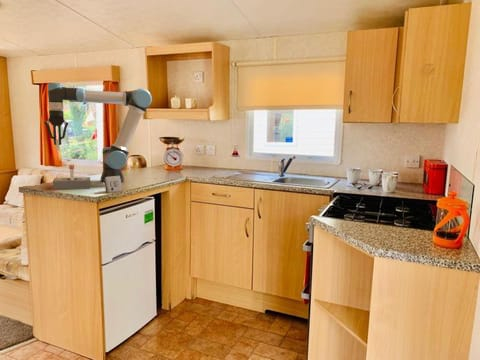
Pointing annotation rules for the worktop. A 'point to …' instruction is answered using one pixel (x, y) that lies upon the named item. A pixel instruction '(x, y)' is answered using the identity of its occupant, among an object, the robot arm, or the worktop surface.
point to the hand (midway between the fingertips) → (58, 150)
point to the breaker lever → (71, 172)
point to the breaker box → (71, 183)
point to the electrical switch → (113, 184)
